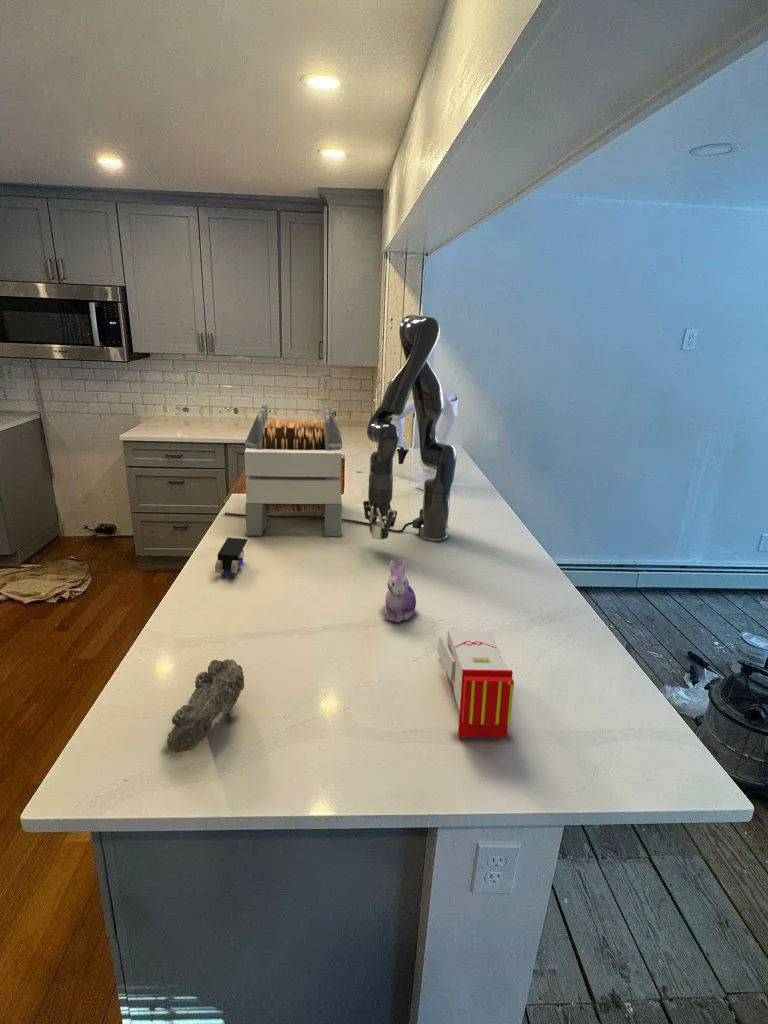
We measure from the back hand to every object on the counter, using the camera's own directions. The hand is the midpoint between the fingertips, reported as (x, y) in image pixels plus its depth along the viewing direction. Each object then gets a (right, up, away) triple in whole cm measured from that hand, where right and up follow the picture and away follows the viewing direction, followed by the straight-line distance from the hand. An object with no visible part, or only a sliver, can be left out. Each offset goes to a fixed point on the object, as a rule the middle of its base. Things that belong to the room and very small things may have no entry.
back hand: (395, 461), depth 259 cm
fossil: (-38, -62, -151) cm, 167 cm away
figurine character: (-50, -40, -91) cm, 111 cm away
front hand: (-7, -30, -77) cm, 83 cm away
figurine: (-1, -49, -111) cm, 122 cm away
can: (-7, -31, -77) cm, 83 cm away
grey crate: (-38, -26, -50) cm, 68 cm away
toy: (+13, -60, -140) cm, 153 cm away
